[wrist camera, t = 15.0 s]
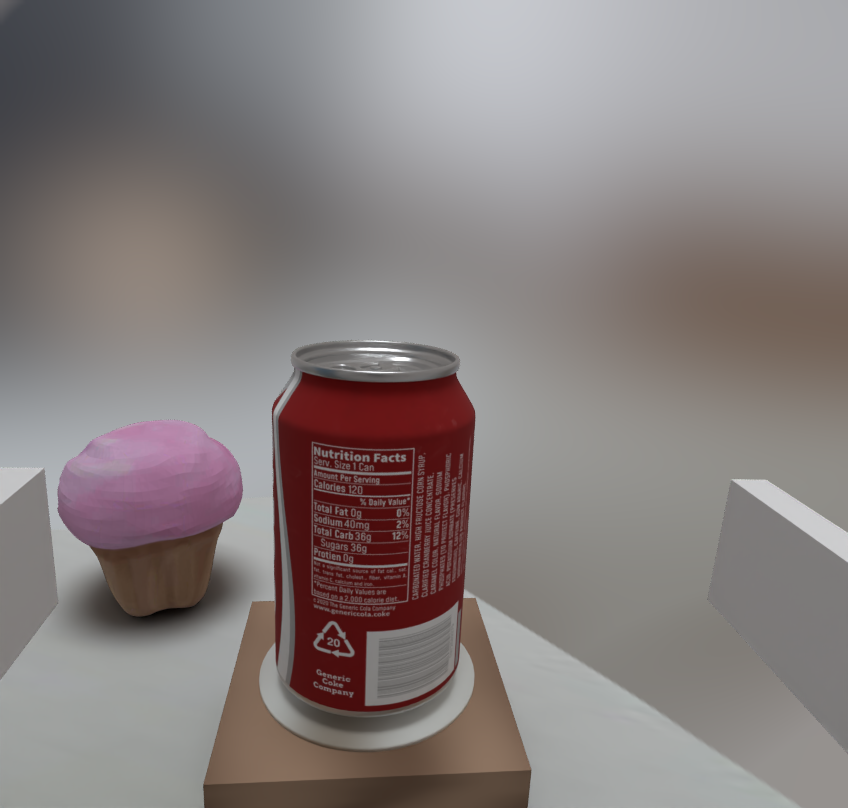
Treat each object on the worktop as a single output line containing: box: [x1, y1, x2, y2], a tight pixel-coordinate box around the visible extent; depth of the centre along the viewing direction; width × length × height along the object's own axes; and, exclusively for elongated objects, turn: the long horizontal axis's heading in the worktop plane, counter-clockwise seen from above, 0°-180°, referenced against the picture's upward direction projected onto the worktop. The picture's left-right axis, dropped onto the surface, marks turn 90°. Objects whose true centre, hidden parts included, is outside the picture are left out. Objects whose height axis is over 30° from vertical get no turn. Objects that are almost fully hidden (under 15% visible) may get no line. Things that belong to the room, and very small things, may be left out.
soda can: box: [272, 340, 475, 718], centre depth 23 cm, size 7×7×12 cm
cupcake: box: [58, 420, 243, 617], centre depth 35 cm, size 9×9×10 cm
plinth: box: [203, 598, 531, 808], centre depth 26 cm, size 10×10×4 cm
